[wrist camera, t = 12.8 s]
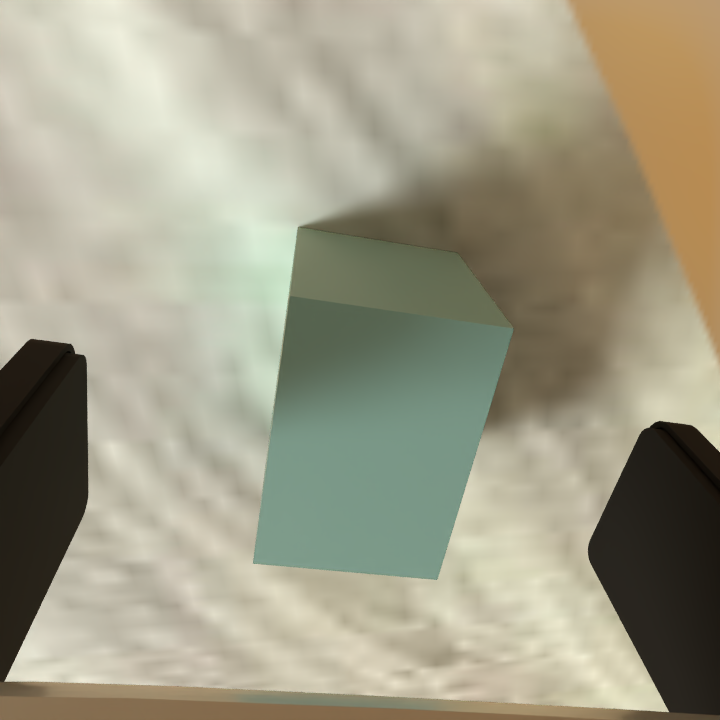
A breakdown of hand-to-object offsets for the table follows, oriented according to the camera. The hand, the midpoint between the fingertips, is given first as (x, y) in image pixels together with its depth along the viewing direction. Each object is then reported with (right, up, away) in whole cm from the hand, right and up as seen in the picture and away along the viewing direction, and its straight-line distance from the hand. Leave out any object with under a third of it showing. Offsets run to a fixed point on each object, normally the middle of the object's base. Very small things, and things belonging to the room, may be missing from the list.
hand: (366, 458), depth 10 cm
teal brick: (0, +2, +6) cm, 6 cm away
